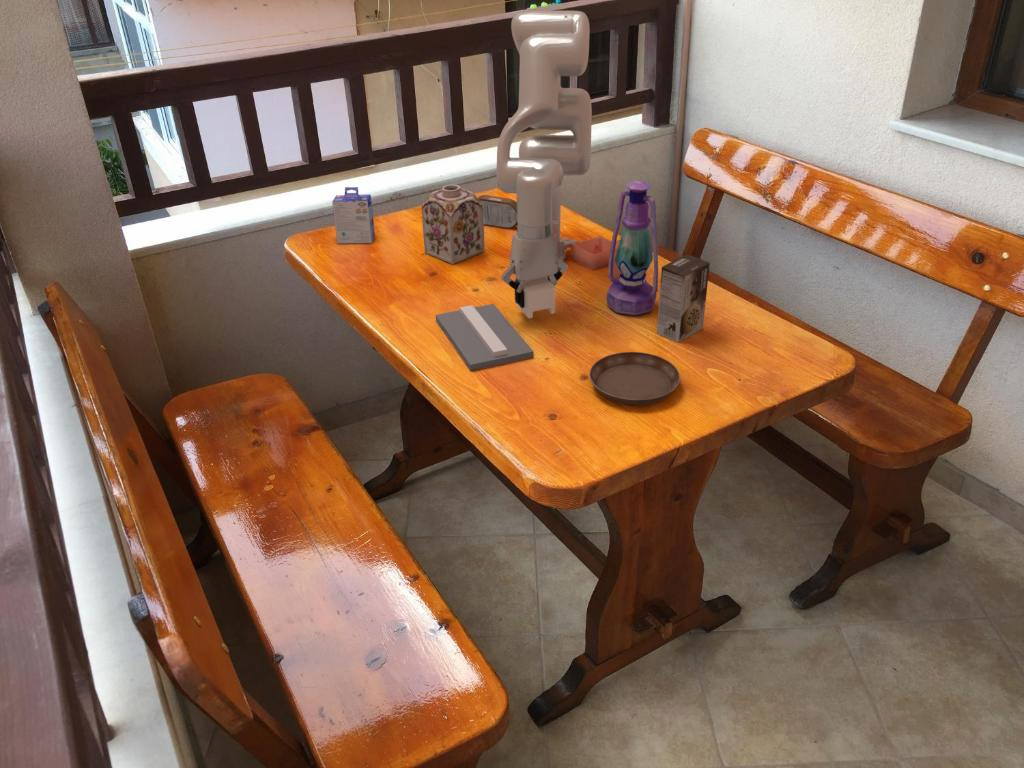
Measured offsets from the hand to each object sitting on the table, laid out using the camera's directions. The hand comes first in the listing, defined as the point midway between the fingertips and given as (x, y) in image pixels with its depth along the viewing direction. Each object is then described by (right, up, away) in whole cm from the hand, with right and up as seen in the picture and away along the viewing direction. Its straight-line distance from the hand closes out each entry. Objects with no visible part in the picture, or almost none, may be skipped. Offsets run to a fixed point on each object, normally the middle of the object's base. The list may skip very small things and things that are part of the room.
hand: (534, 301), depth 194 cm
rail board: (-12, -9, -6) cm, 16 cm away
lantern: (+22, -1, +6) cm, 23 cm away
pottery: (+19, +11, +25) cm, 34 cm away
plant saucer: (+19, -19, -23) cm, 36 cm away
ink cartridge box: (-48, +21, +42) cm, 67 cm away
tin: (-9, +26, +49) cm, 57 cm away
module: (0, -1, +1) cm, 2 cm away
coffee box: (+32, -7, -5) cm, 33 cm away
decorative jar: (-20, +16, +34) cm, 43 cm away
